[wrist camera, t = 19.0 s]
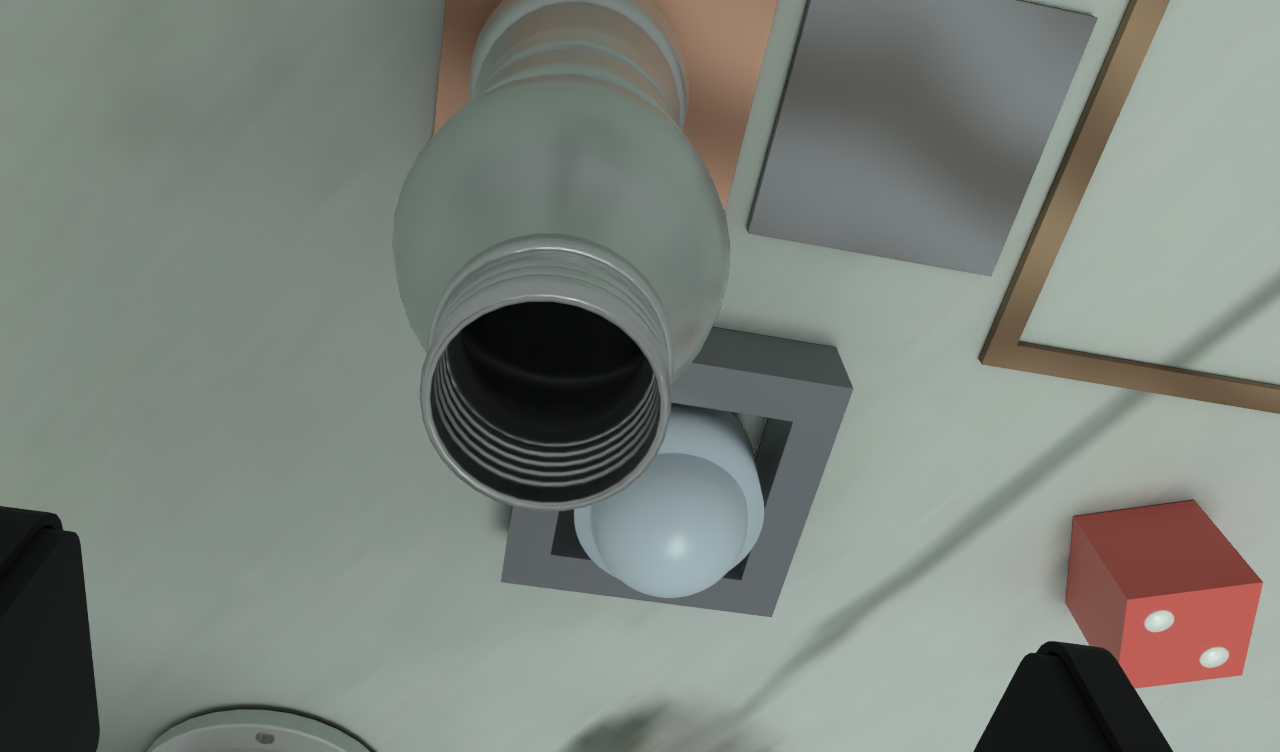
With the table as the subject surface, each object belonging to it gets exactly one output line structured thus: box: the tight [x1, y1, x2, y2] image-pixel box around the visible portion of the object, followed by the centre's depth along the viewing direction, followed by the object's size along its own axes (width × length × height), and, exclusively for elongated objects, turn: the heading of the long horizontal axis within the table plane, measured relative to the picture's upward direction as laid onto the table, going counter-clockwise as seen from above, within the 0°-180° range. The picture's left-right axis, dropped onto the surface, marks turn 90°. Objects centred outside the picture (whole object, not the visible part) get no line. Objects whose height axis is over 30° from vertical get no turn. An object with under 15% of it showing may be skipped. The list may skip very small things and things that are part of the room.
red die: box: [1066, 500, 1263, 688], centre depth 40 cm, size 5×5×5 cm
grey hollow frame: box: [501, 327, 853, 617], centre depth 38 cm, size 11×11×3 cm
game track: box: [434, 0, 1280, 414], centre depth 33 cm, size 16×37×1 cm, turn 79°
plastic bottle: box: [392, 0, 730, 511], centre depth 22 cm, size 6×7×20 cm
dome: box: [574, 403, 764, 598], centre depth 35 cm, size 7×7×6 cm
